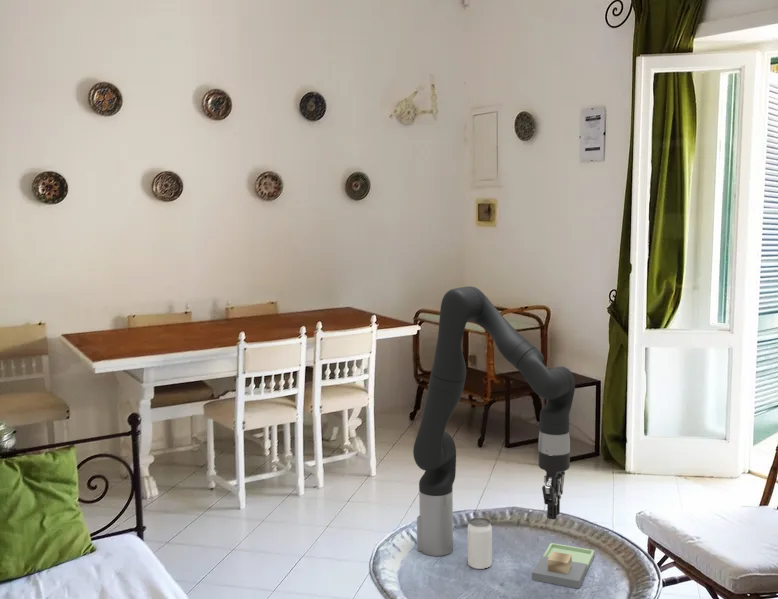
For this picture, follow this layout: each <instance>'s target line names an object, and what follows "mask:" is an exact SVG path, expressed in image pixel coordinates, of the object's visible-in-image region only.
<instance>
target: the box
mask: <svg viewBox="0 0 778 599" xmlns="http://www.w3.org/2000/svg"><path fill="white" fill-rule="evenodd" d="M595 551H596V550H595V549H591V548H590V549H589V548H584V547H578V546H577V547H576V546H572V545H565V544H560V543H553V542H550V544H549V545H548V547H547V548H546V550H545V552H544V553H543V556H544V557H550V555H551V554H552V552H558V553H564V554H570V555H572V561H573V562H578V563H584V564H587V571H588V570H589V568H590V566H591V564H592V562H593V560H594V557H595Z"/></svg>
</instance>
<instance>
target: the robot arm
mask: <svg viewBox="0 0 778 599" xmlns="http://www.w3.org/2000/svg"><path fill="white" fill-rule="evenodd" d="M471 322H474V323H475V324H477V325H479V326H480V327H481V328H483V329H484V330H485V331H486V332H487V333H488V334H489V335H490V337H491V338H492V340H493V341H494V343H495V346H496V348H497V349H498V351H499V353H500V354H501V355H502V356H503V358H504V359H505V360H506V361H508V362H509V363H510V365H512V366H513V367H514V368H516V369H517V371H519V372H520V373H521V374H522V376H523V377H524V379H525V380H526V382H527V383H528V385H529V386H530V388H531V389H532V390H533V392H535V394H536V395H538V396H539V397H541V398H542V399H544V400H547V401H546V403H545V405H544V406H543V407H542V408H541V410H540V412H539V433H538V457H537V458H538V459H537V460H538V462H537V464H538V468H540V469H541V470H544V472H546V474H545V475H544V477H543V483H544V485H542V487H541V489H542V490H541V491H542V495H543V503H544V505H547V507H546V508H547V510H546V513H547V519H549V520H554V521H555V520H556V519H557V518H558V517H557V516H559V515H560V511H561V510H560V508H561V504H560V503H561V499H562V495H563V493H564V482H565V476H566V475H565V474H566V472H565V471H568V470H569V469H570V465H571V464H570V463H571V462H570V461H571V458H570V457H571V437H570V412H571V409H572V405H573V400H574V396H575V392H576V391H575V388H576V383H575V382H576V381H575V376H574V375H573V373H572V371H571V370H570V369H568V368H567V367H565V366H555V367H553V368H547V366H546V365H545V364H544V360H545V359H544V358H545V357H544V355H543V353H542V352H541V351H540V349H538V348H537V347H535V345H533V344H532V343H531V342H530V341H529V340H528V339H526V338H525V337H524V336H523V335H522V334H521V333H519V332H518V331H517V329H516V328H514V326H512V325H511V323H510V322H509V321H508V320H507V319H506V318H505V317H504V316H503V315H502V314H501V313H500V311H499V310H498V309H497V307H495V305H494V304H493V303H492V302H491V301H490V299H489V298H488V296H486V295H485V294H484V293H483V292H482V290H481V289H480V288H478V287H475V286H463V287H455V288H451V289H449V290H448V291H447V292H446V293H445V294H444V295H443V297H442V300H441V304H440V311H439V322H438V333H437V339H436V346H435V352H434V358H433V364H432V366H431V367H432V368H431V371H430V376H429V380H428V381H429V382H428V388H427V394H426V398H425V403H424V408H423V413H422V419H421V421H420V424H419V429H418V431H417V435H416V437H415V441H414V443H413V444H414V445H413V448H412V449H413V450H412V451H413V452H412V454H413V459H414V462H415V465H417V467H418V468H419V469H421V470H422V471H424V473H423V474H422V476H421V478H420V479H419V482H418V495H419V496H418V497H419V499H418V500H419V501H418V503H419V508H418V509H419V510H418V511H419V515H418V516H417V517H416V544H417V545H416V546H417V547H416V548H417V549H416V551H418V552H419V551H420V552H421V553H423V554H425V555H427V556H432V557H433V556H434V557H441V556H445V555H446V556H447V555H448V554H451V553H452V552H453V551H454V513H453V512H454V511H453V509H454V507H453V506H454V504H453V503H454V501H453V496H454V495H453V494H454V493H453V490H454V489H453V487H454V486H453V485H454V483H455V480H456V474H457V470H456V468H457V448H456V447H457V446H456V443H455V441H454V438H453V437H452V435H451V434H449V433H448V432H446V431H445V430H446V428H447V424H448V422H449V420H450V419H451V417H452V415H453V413H454V411H455V409H456V408H457V406H458V405H459V402H460V400H461V398H462V395H463V391H464V388H465V383H466V377H467V365H466V361H465V357H464V356H465V355H464V353H463V347H462V343H463V338H464V337H463V336H464V332H465V328H466V325H467V323H471Z"/></svg>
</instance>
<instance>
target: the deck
mask: <svg viewBox="0 0 778 599" xmlns="http://www.w3.org/2000/svg"><path fill="white" fill-rule="evenodd" d="M548 559H549V557H544V556H541V557H540V558H539V560H538V562H537V563H536V565H535V566H534V568H533V570H532V572H531V580H532V579H533V580H532V581H535V582H541V581H542V583H546V582H547V583H548V584H552V583H553V584H552V585H559V586H563V587H567V588H574V589H580V587H581V586H582V583H583V582H584V578H585V576H586V575H587V572H588V570H587V564H584V563H578V562H573V561H572V566H571V568H570V570H569V572H568V574H563V573H558V572H553V571H548Z"/></svg>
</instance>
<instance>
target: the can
mask: <svg viewBox="0 0 778 599" xmlns="http://www.w3.org/2000/svg"><path fill="white" fill-rule="evenodd" d="M466 539H467V541H466V542H467V564H468V566H469V567H470V568H472V569H474V568H475V570H486V569H485V568H487V569H489V568H491V566H492V564H493V527H492V525H491V520H490V519H488V518H486V517H479V516H478V517H473V518H470V519H469V521H468V525H467V538H466ZM488 567H489V568H488Z"/></svg>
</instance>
